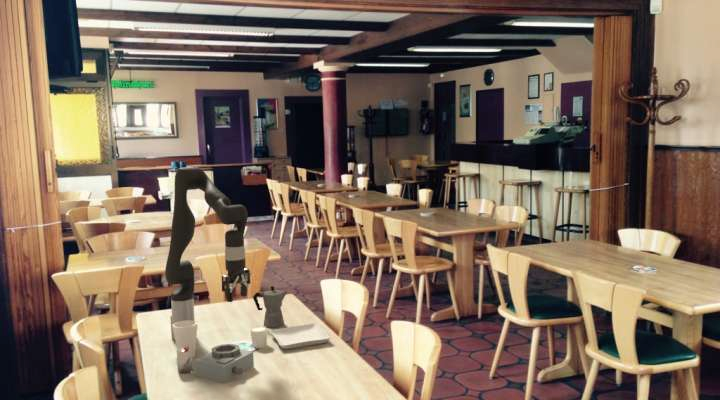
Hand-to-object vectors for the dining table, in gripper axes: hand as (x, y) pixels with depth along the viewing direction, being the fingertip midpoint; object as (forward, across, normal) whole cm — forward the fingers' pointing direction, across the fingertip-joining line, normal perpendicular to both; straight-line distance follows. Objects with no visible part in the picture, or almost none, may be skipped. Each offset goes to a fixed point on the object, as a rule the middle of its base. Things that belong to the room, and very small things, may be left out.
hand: (236, 298), depth 241 cm
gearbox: (+24, +13, +5) cm, 27 cm away
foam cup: (+24, +6, -22) cm, 33 cm away
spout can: (+24, +18, -11) cm, 32 cm away
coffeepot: (+24, -40, -13) cm, 49 cm away
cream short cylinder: (+24, -16, -2) cm, 29 cm away
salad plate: (+24, -28, +10) cm, 38 cm away
